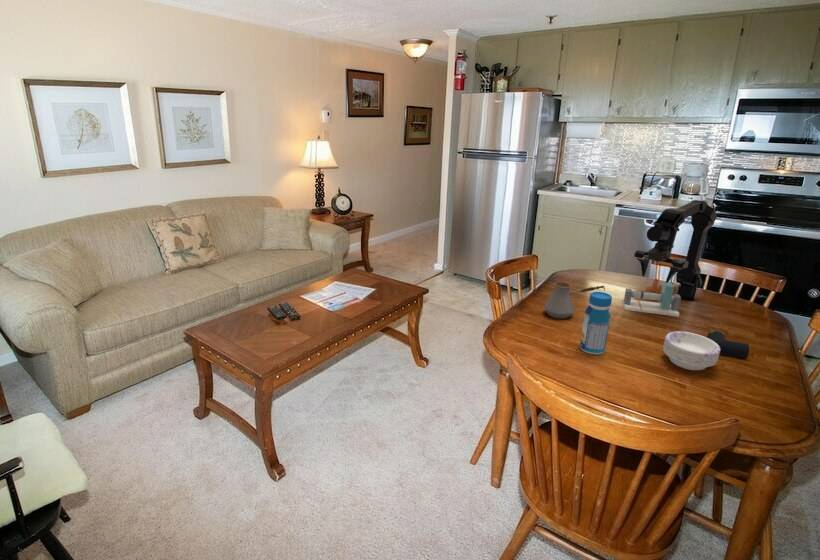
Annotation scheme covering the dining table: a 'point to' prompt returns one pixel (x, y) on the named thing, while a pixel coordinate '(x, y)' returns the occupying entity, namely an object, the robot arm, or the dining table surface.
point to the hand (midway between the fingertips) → (654, 279)
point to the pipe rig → (650, 303)
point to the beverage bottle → (596, 323)
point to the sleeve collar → (666, 294)
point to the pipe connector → (728, 345)
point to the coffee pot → (563, 300)
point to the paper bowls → (691, 350)
